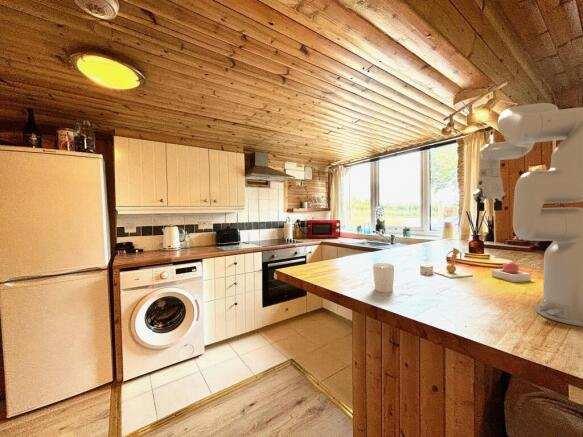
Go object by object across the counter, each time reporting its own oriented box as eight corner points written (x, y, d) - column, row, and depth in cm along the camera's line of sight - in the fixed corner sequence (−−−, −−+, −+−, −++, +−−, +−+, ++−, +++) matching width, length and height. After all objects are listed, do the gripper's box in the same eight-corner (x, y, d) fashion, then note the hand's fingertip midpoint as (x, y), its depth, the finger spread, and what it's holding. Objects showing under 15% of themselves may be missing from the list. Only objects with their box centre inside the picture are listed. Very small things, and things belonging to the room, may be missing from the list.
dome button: (512, 275, 101) (512, 263, 101) (499, 272, 106) (499, 261, 106) (521, 274, 102) (521, 263, 102) (509, 271, 107) (509, 260, 107)
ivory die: (427, 275, 113) (427, 266, 113) (419, 273, 117) (419, 264, 116) (432, 273, 115) (432, 265, 115) (424, 272, 119) (424, 263, 119)
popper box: (513, 282, 99) (513, 275, 99) (491, 276, 108) (491, 270, 108) (530, 280, 100) (530, 273, 100) (507, 275, 109) (507, 268, 109)
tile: (450, 278, 107) (450, 276, 107) (430, 271, 119) (430, 270, 119) (472, 276, 109) (472, 274, 109) (451, 269, 121) (451, 268, 121)
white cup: (373, 292, 92) (373, 267, 92) (373, 286, 99) (372, 262, 99) (395, 294, 90) (395, 268, 89) (393, 287, 97) (392, 263, 97)
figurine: (440, 270, 118) (440, 247, 117) (451, 269, 119) (451, 246, 118) (454, 275, 110) (454, 249, 109) (465, 274, 110) (465, 248, 110)
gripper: (481, 172, 104) (481, 211, 104) (513, 172, 107) (513, 210, 108) (466, 175, 111) (466, 211, 112) (496, 175, 114) (496, 210, 115)
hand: (489, 210), depth 110 cm, fingers open, 9 cm apart
